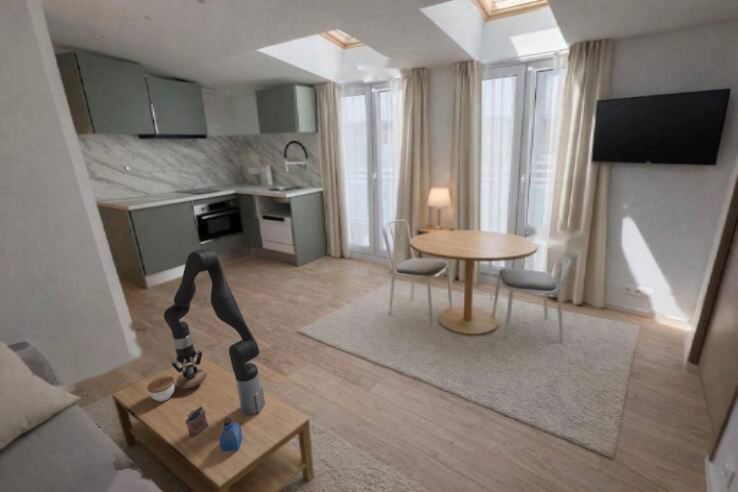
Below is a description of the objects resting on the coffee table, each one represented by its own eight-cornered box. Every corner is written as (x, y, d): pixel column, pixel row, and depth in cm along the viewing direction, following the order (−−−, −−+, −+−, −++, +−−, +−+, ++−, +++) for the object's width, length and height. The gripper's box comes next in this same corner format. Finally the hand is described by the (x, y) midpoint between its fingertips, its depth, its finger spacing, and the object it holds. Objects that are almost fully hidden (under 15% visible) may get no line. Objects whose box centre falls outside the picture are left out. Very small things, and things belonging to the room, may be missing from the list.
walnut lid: (211, 371, 179) (209, 359, 177) (195, 388, 167) (192, 376, 165) (188, 369, 182) (185, 357, 180) (170, 387, 169) (167, 374, 167)
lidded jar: (181, 389, 172) (177, 372, 170) (167, 405, 162) (163, 388, 159) (160, 388, 173) (156, 372, 171) (145, 404, 163) (140, 387, 160)
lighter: (192, 439, 144) (187, 419, 141) (187, 435, 145) (182, 415, 142) (210, 425, 150) (205, 406, 147) (205, 422, 152) (200, 403, 149)
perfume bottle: (226, 438, 143) (221, 414, 139) (242, 437, 144) (238, 413, 140) (221, 452, 137) (216, 427, 134) (238, 450, 138) (233, 425, 134)
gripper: (196, 335, 176) (203, 365, 181) (164, 346, 167) (172, 378, 172) (201, 341, 170) (208, 371, 175) (169, 353, 161) (177, 385, 167)
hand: (190, 374), depth 174 cm, fingers closed on walnut lid, 3 cm apart
